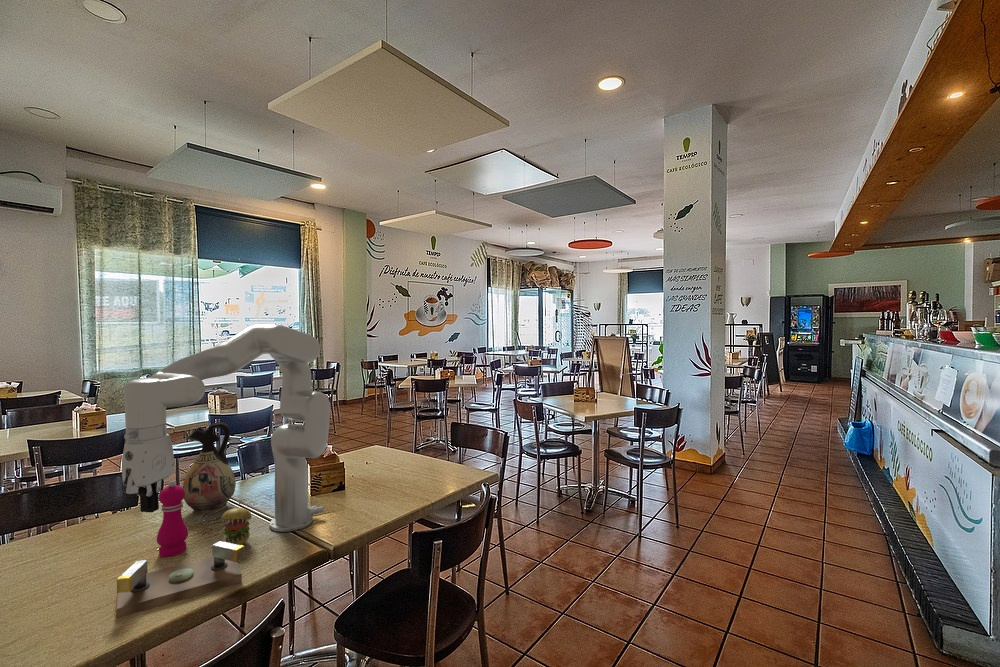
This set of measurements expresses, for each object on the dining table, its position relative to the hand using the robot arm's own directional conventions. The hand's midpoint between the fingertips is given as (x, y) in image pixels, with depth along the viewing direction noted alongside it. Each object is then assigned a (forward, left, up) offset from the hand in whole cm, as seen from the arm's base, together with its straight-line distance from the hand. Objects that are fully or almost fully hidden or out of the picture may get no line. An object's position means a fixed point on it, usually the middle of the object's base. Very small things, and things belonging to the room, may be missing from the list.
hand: (149, 510), depth 110 cm
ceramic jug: (-17, -50, -21) cm, 56 cm away
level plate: (-6, -2, -20) cm, 21 cm away
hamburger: (-20, -18, -21) cm, 34 cm away
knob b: (+3, +1, -18) cm, 18 cm away
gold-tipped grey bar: (-16, +1, -18) cm, 24 cm away
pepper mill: (-5, -23, -21) cm, 31 cm away
